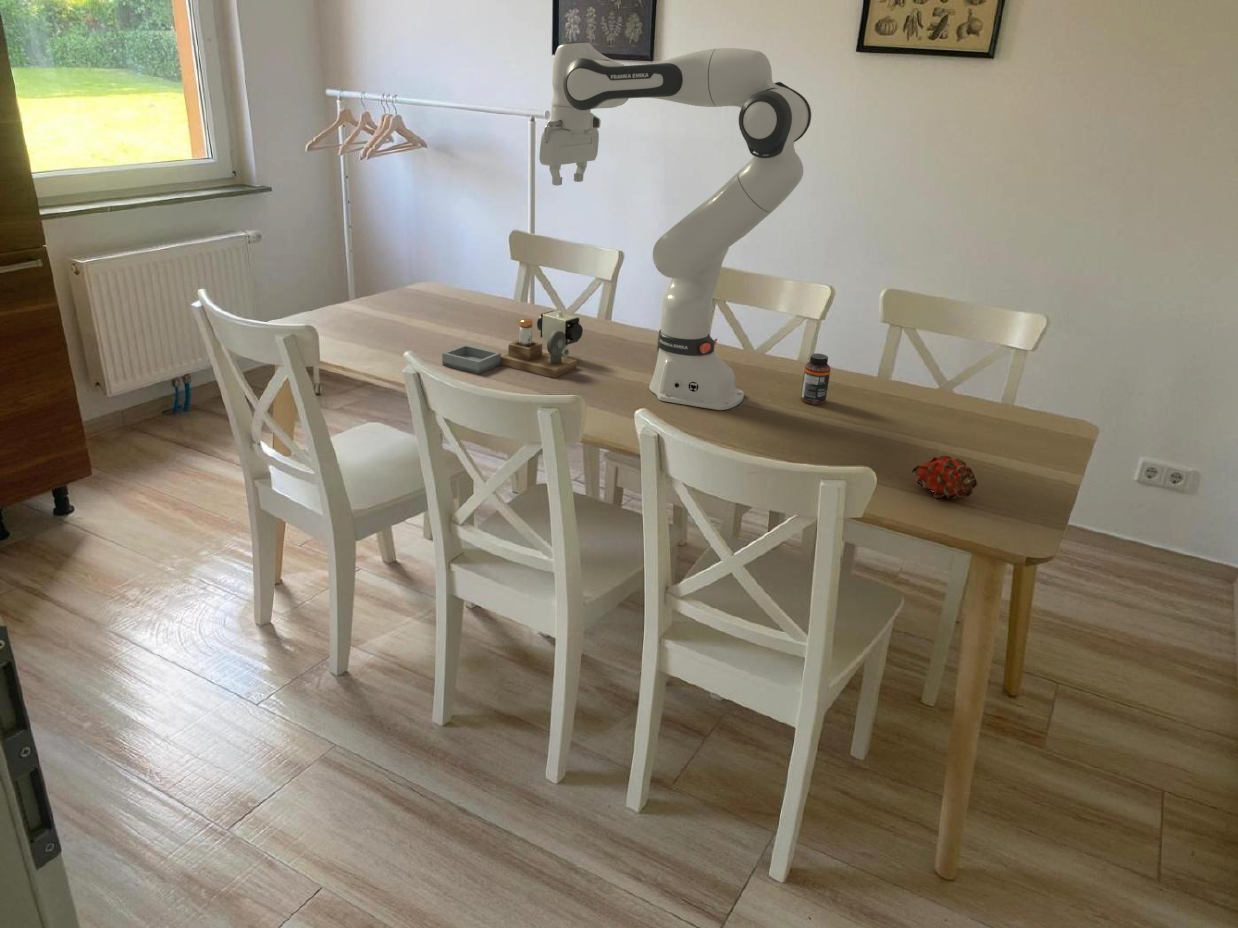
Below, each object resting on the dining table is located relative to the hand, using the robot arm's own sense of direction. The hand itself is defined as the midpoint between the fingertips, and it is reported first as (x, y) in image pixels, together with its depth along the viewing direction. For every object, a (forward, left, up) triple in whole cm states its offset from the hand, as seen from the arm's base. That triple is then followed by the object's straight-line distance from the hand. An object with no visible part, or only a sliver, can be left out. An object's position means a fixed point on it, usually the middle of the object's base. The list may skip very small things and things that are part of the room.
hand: (567, 183), depth 210 cm
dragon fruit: (-97, +21, -44) cm, 109 cm away
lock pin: (+8, +5, -42) cm, 43 cm away
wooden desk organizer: (+4, +5, -44) cm, 44 cm away
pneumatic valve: (+4, -5, -44) cm, 45 cm away
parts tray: (+17, +15, -44) cm, 49 cm away
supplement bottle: (-61, -14, -44) cm, 77 cm away
